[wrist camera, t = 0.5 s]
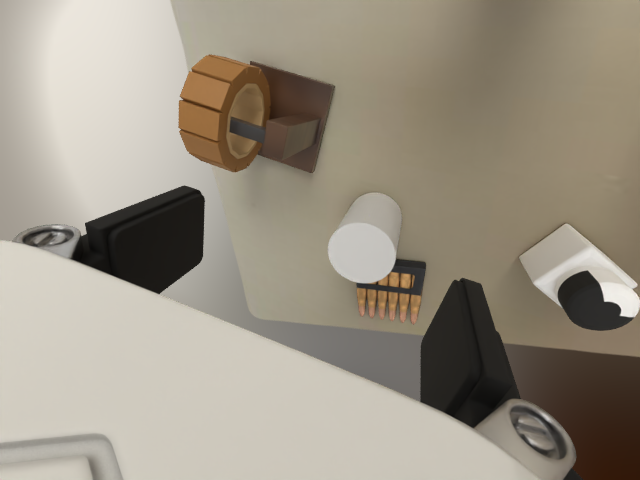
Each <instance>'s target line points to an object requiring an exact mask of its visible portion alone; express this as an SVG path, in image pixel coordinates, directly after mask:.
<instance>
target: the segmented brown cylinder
mask: <svg viewBox="0 0 640 480" xmlns="http://www.w3.org/2000/svg"><path fill="white" fill-rule="evenodd" d="M180 97H181V98H182V99H183V100H180V101H179V128H180V129H181V130H180V131H179V132H180V135H181V137H182V140H183V142H184V145H185V147H186V149H187V151H188V152H189V153H190V154H191V155H193V156H195V157H196V158H198V159H199V160H201V161H204V162H206V163H209V164H212V165H215V166H218V167H220V168H223V169H226V170H229V171H231V172H238V171H240V170H243V169H245V168H247V166H249V165H250V163H251V162H252V161H253V159H254V158H255V157H256V155H257V154H258V150H260V148H261V145H262V143H260V142H257V141H254V140H251V139H248V138H245V137H242V136H239V135H236V134H233V133H230V132H229V129H230V118H231V116H232V117H235V118H238V119H241V120H244V121H247V122H250V123H253V124H256V125H259V126H262V127H265V128H266V121H267V120H269V116H270V109H271V108H269V107H270V105H271V102H270V90H269V85H268V81H267V79H266V77H265V75H264V74H263V72H262V70H261V69H260V68H259V67H256V66H252V65H249V64H246V63H242V62H239V61H236V60H232V59H229V58H226V57H222V56H216V55H210V54H209V56H207V55H206V56H205V57H204V58H203V59H202V60H200V61H199V62H198V63H197V64H196V65H195V66H193V67H192V72H190V71H189V74H188V76H187V79H186V81H185V84H184V87H183V89H182V92H181V94H180Z"/></svg>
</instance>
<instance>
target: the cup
mask: <svg viewBox="0 0 640 480" xmlns="http://www.w3.org/2000/svg"><path fill="white" fill-rule="evenodd" d="M401 224H402V213H401V210H400V208H399V206H398V204H397V203H396V202H395V201H394V200H393V199H392V198H391V197H389V196H387V195H385V194H382V193H367V194H364V195H362V196H360V197H358V198H357V199H356V200H355V201H354V202H353V204H352V205H351V207H350V208H349V210H348V212H347V213H346V215H345V216H344V218H343V219H342V221H341V223H340V224H339V226H338V227H337V229H336V230H335V232H334V234H333V235H332V237H331V239H330V241H329V244H328V256H329V259H330V262H331V264H332V266H333V267H334V269H335V270H336V271H337V272H338V273H339V274H340V275H342V276H343V277H345V278H346V279H348V280H351V281H353V282H357V283H373V282H376V281H379V280H381V279H383V278H384V277H386V276H387V275H388V274H389V273H390V272H391V270H392V268H393V266H394V264H395V259H396V253H397V247H398V242H399V236H400V230H401Z"/></svg>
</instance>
